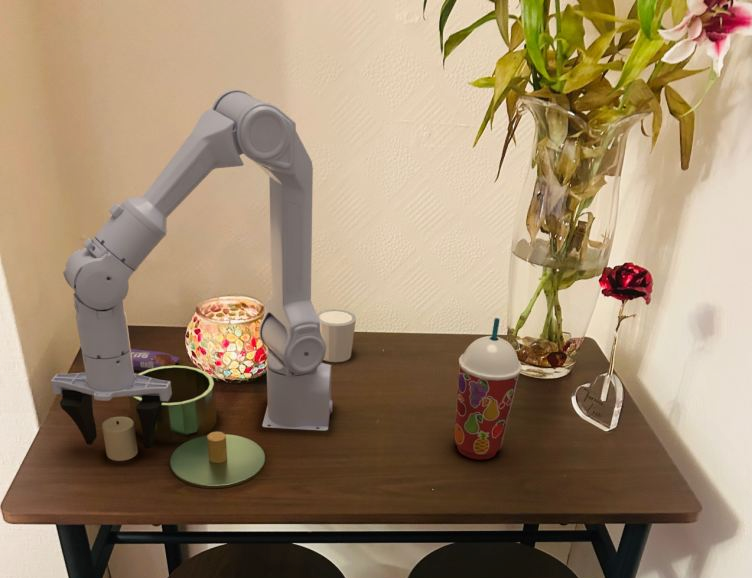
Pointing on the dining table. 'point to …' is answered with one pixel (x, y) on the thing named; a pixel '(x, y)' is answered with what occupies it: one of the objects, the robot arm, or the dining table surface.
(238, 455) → the tin lid
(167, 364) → the snack package
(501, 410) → the smoothie
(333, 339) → the white cup
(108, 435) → the candle
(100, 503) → the dining table surface
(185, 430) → the tin
